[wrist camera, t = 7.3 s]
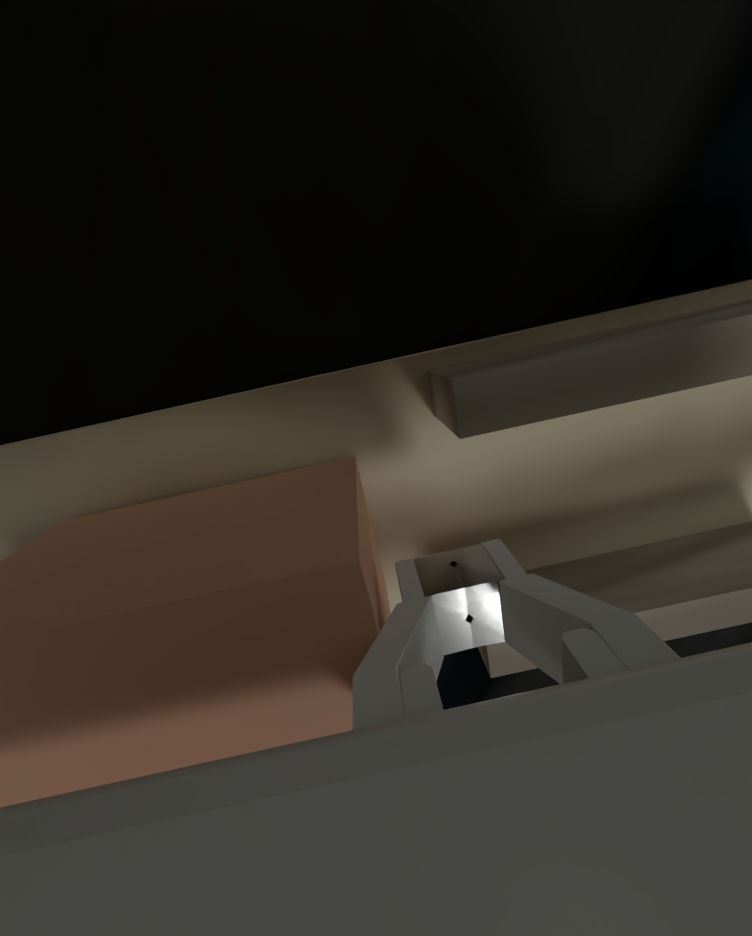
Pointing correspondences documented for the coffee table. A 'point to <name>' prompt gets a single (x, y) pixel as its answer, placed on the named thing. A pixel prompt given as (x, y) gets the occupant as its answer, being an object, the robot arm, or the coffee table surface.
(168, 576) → the terracotta block
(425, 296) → the coffee table surface
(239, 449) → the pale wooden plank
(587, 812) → the robot arm
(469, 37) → the coffee table surface
